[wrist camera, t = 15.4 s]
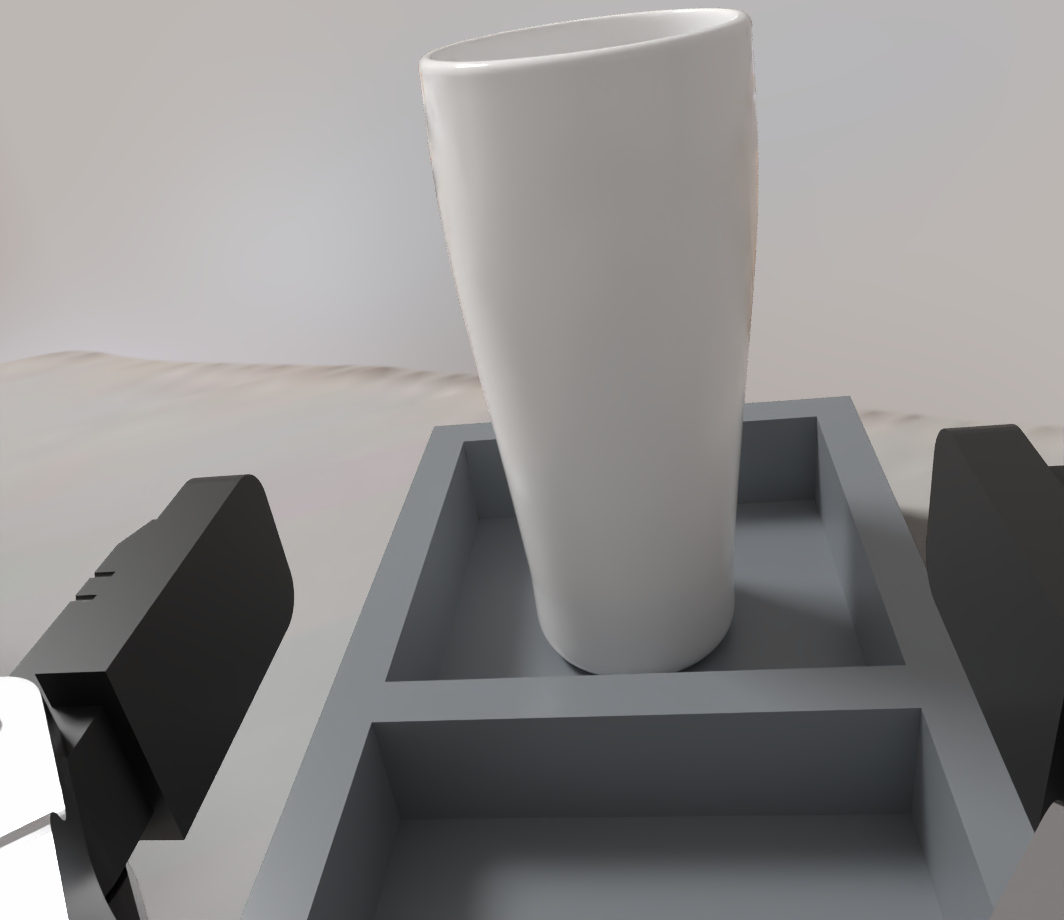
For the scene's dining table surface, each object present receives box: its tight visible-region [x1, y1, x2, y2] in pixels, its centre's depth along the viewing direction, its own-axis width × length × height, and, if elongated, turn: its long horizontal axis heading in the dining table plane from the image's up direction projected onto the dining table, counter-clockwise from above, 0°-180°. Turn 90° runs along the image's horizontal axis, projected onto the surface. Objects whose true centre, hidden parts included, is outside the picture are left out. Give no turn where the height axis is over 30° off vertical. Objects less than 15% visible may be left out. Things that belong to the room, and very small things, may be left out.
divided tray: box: [240, 396, 1034, 920], centre depth 20 cm, size 13×26×4 cm, turn 174°
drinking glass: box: [418, 8, 758, 675], centre depth 22 cm, size 7×7×15 cm
